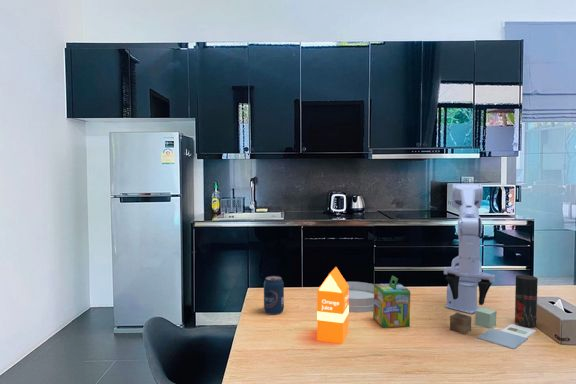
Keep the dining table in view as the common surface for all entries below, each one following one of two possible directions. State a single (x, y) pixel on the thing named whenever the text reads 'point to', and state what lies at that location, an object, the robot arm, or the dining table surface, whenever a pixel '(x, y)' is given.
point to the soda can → (273, 295)
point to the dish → (361, 297)
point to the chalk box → (391, 304)
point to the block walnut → (460, 323)
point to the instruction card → (519, 330)
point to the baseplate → (502, 338)
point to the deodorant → (526, 301)
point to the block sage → (485, 317)
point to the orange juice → (333, 308)
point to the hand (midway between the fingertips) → (468, 301)
